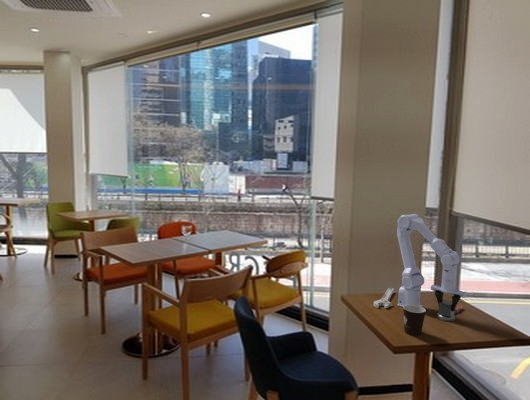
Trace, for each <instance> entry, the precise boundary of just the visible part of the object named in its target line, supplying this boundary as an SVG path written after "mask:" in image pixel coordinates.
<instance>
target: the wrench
mask: <svg viewBox="0 0 530 400" xmlns="http://www.w3.org/2000/svg"><path fill="white" fill-rule="evenodd" d="M394 289H395V288H393V287H388V288H387V289H386V291H385V293H384V294H383V296H382V297H381V298H380V299H378V300H374V301H373V304H372V305H373V307H374V308H376V309H379V308H380V307H384V308H385V309H388V308H389V307H393V303H392V302H390V299H391V297H392V296H393V293H395V292H394V291H395V290H394Z"/></svg>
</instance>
